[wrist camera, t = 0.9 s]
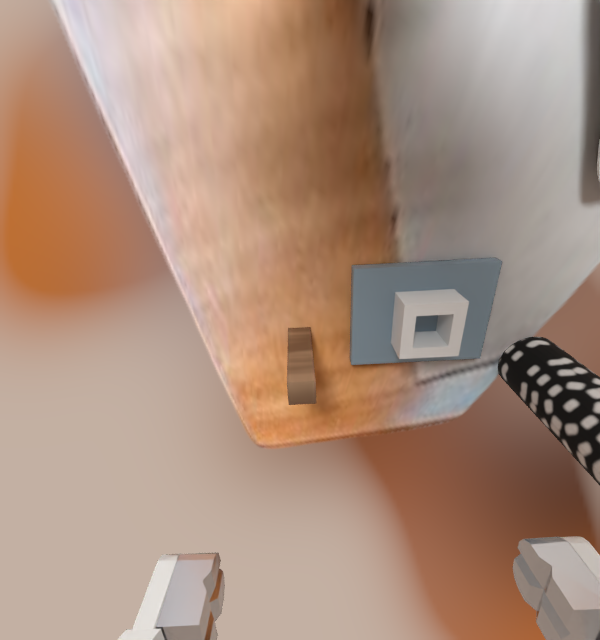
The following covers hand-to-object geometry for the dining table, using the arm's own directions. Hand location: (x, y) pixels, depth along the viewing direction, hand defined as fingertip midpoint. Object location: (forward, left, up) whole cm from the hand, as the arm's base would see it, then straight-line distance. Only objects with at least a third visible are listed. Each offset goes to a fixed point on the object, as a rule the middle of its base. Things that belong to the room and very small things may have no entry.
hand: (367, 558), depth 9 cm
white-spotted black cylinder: (+19, +31, -36) cm, 51 cm away
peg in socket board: (+10, +14, -35) cm, 39 cm away
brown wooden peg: (+13, -2, -35) cm, 38 cm away
